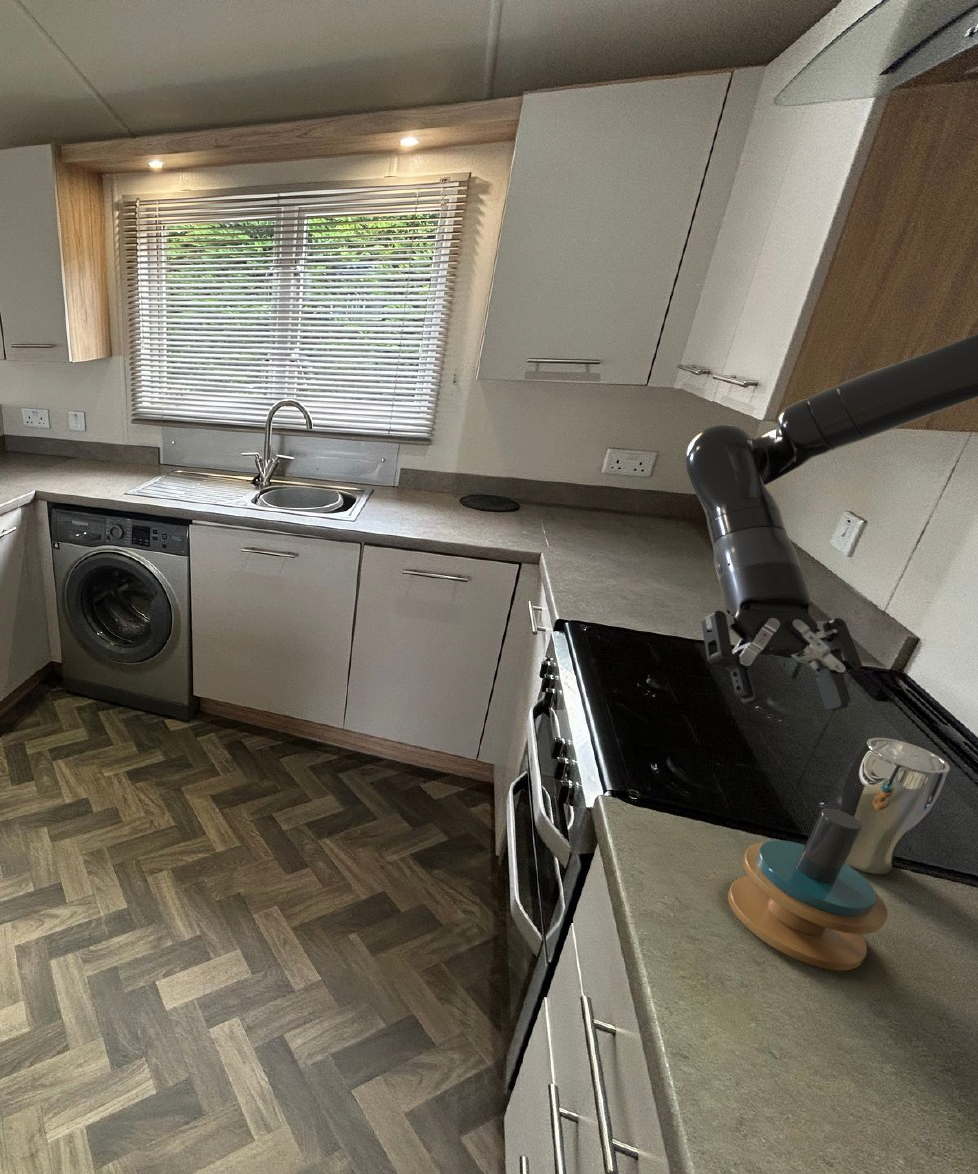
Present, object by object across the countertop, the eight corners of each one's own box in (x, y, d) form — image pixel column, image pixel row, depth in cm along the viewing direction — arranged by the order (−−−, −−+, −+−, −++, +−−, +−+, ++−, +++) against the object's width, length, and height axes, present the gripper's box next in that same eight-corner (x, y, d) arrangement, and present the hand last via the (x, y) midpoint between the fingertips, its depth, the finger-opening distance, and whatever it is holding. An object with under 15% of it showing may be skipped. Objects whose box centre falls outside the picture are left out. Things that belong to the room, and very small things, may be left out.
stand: (809, 888, 72) (829, 848, 70) (894, 978, 62) (921, 933, 60) (705, 877, 74) (721, 837, 71) (772, 962, 63) (793, 919, 61)
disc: (825, 853, 69) (854, 793, 66) (898, 922, 61) (935, 857, 58) (736, 844, 70) (761, 784, 67) (795, 911, 62) (827, 846, 59)
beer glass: (809, 827, 81) (855, 729, 76) (883, 848, 78) (937, 748, 73) (825, 862, 76) (876, 760, 70) (905, 887, 72) (965, 781, 67)
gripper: (714, 556, 73) (748, 691, 67) (850, 563, 71) (898, 703, 65) (675, 582, 80) (702, 707, 74) (798, 589, 78) (837, 718, 72)
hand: (794, 705), depth 69 cm, fingers open, 8 cm apart
